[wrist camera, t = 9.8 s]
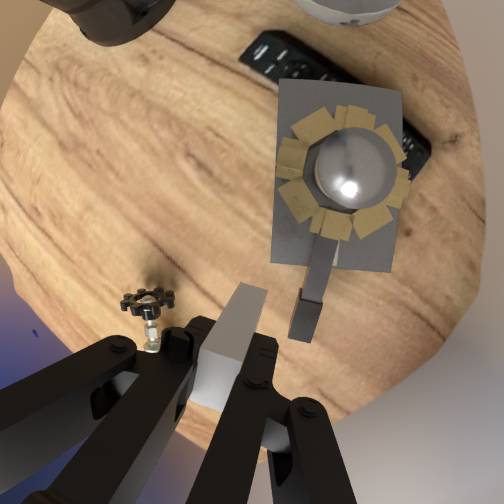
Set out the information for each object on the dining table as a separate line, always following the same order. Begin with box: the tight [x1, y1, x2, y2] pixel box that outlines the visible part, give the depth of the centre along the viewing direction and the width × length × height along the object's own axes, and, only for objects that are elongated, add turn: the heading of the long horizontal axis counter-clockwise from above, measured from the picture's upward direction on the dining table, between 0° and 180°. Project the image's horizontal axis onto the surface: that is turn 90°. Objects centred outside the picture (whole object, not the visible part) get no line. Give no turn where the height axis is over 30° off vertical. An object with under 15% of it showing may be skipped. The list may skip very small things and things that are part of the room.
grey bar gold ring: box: [275, 105, 411, 343], centre depth 25 cm, size 11×21×4 cm, turn 168°
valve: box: [120, 288, 175, 353], centre depth 34 cm, size 7×7×12 cm
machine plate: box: [270, 79, 402, 273], centre depth 23 cm, size 18×12×13 cm, turn 177°
